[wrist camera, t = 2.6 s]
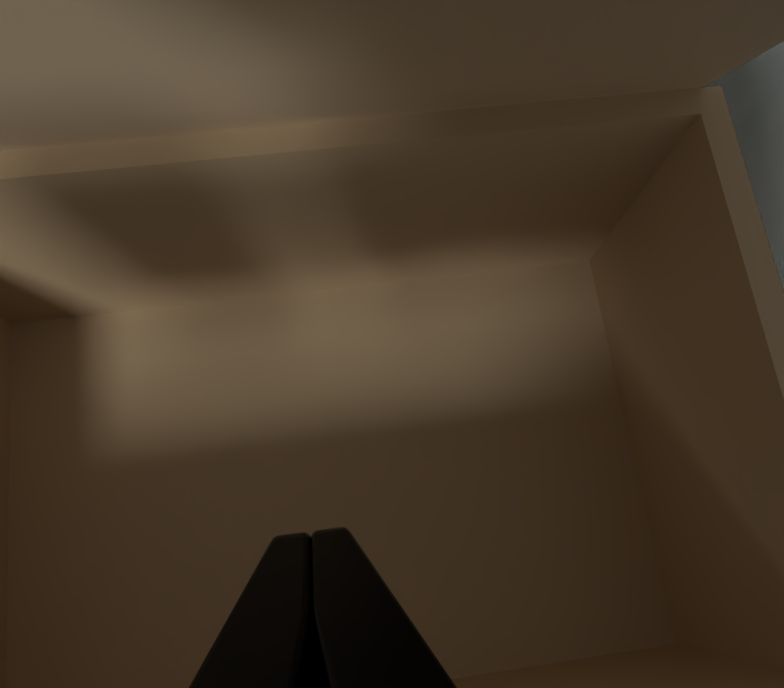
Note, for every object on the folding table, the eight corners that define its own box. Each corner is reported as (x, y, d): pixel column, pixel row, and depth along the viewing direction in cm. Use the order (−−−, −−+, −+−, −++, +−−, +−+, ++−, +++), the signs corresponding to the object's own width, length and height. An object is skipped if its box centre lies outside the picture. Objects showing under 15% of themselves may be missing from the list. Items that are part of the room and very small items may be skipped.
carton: (695, 663, 19) (915, 726, 12) (-11, 774, 18) (-284, 927, 10) (599, 246, 23) (720, 85, 15) (-3, 311, 21) (-205, 170, 14)
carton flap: (1428, -331, 5) (1425, -391, 5) (-1523, -192, 4) (-1549, -274, 4) (702, 87, 15) (701, 67, 15) (-182, 167, 14) (-185, 146, 14)
